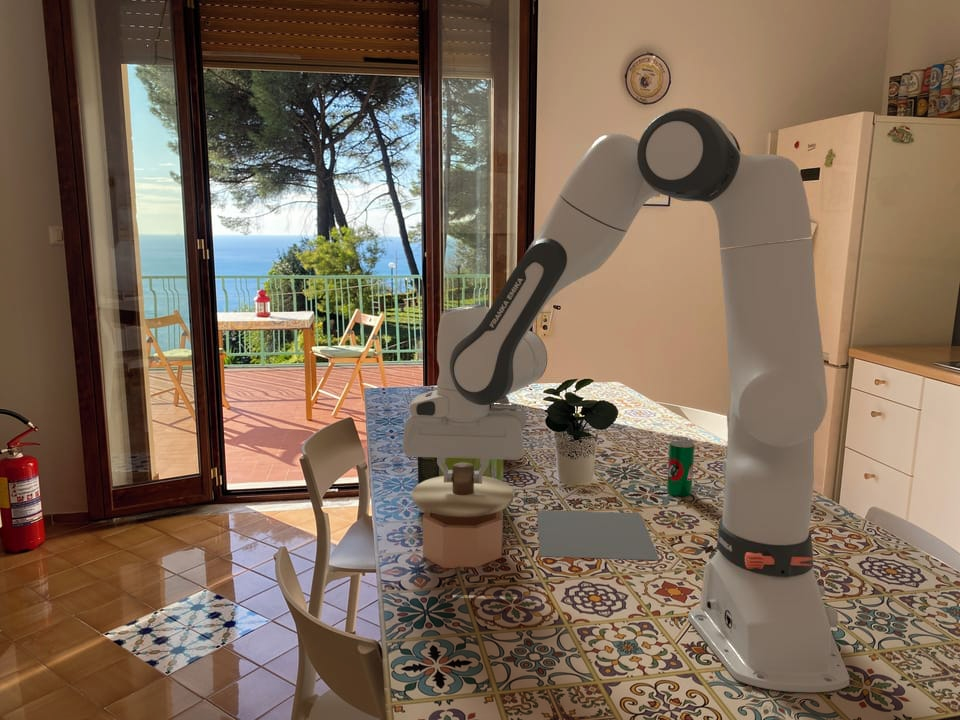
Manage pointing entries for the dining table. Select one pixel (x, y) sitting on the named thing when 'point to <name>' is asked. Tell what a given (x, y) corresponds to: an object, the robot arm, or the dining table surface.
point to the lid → (463, 494)
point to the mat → (594, 535)
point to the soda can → (680, 466)
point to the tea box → (431, 469)
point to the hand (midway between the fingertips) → (463, 482)
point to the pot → (462, 539)
